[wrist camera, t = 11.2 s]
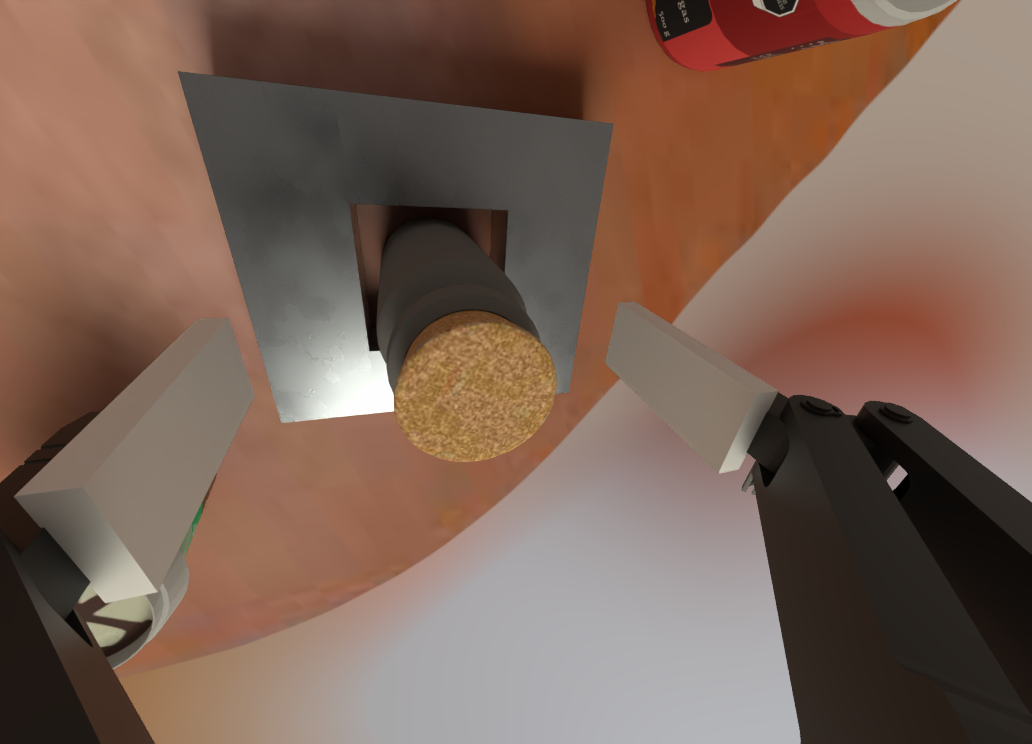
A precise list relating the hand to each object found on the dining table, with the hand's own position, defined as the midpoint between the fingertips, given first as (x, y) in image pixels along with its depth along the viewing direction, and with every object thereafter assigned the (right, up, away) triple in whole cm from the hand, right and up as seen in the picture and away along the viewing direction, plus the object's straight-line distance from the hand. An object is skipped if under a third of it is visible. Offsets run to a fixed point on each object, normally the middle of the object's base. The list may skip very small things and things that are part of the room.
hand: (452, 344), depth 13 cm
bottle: (-3, +6, +10) cm, 12 cm away
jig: (-3, +5, +10) cm, 12 cm away
